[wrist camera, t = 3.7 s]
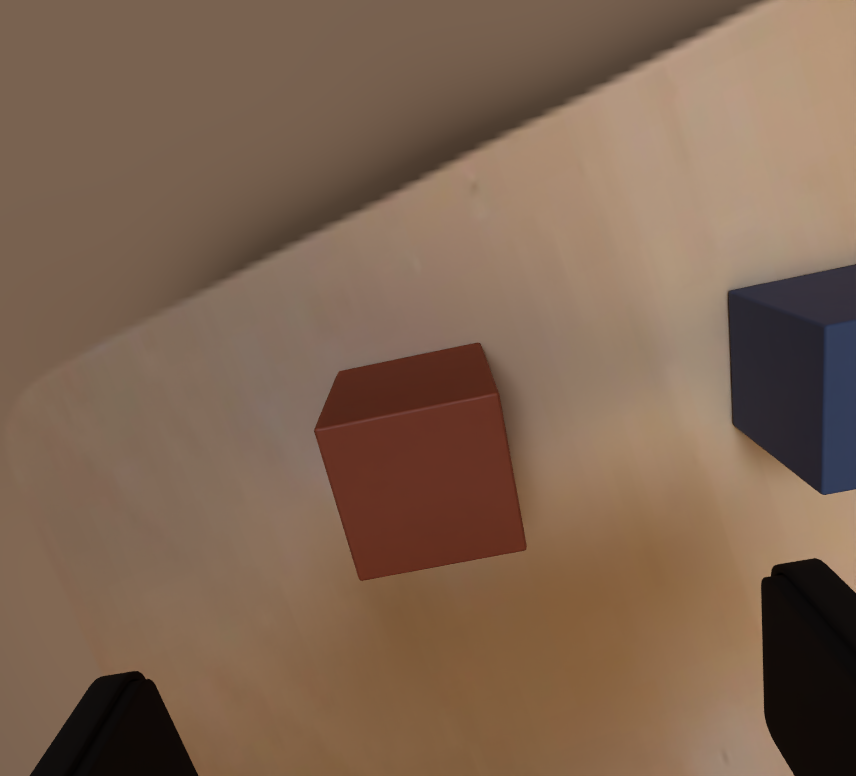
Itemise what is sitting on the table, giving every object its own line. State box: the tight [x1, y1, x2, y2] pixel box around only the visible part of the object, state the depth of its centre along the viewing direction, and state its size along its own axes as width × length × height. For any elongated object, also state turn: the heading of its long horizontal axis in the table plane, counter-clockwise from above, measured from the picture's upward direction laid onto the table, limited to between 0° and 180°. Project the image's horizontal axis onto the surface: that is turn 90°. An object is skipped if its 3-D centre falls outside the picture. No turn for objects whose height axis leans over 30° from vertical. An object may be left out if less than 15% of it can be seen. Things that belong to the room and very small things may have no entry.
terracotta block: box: [314, 343, 527, 581], centre depth 17 cm, size 4×4×4 cm
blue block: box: [729, 265, 856, 495], centre depth 16 cm, size 4×4×4 cm
